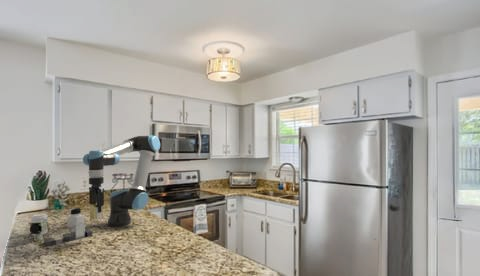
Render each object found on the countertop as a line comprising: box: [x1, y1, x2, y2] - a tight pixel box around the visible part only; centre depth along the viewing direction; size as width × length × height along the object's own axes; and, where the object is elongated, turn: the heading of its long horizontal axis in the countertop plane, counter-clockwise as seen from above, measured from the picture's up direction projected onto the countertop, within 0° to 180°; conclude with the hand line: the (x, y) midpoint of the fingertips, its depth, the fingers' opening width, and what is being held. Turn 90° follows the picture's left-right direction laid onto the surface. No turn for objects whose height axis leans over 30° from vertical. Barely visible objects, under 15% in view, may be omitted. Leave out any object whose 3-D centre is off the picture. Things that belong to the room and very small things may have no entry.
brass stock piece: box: [89, 202, 104, 221], centre depth 159 cm, size 5×5×8 cm
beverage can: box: [30, 213, 49, 237], centre depth 171 cm, size 8×8×12 cm
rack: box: [43, 228, 94, 247], centre depth 159 cm, size 22×9×3 cm, turn 143°
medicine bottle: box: [66, 207, 85, 229], centre depth 188 cm, size 7×7×12 cm
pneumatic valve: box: [29, 219, 49, 241], centre depth 160 cm, size 6×12×12 cm, turn 15°
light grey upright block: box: [71, 222, 86, 240], centre depth 163 cm, size 5×5×8 cm
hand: (96, 217), depth 159 cm, fingers closed on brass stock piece, 5 cm apart
